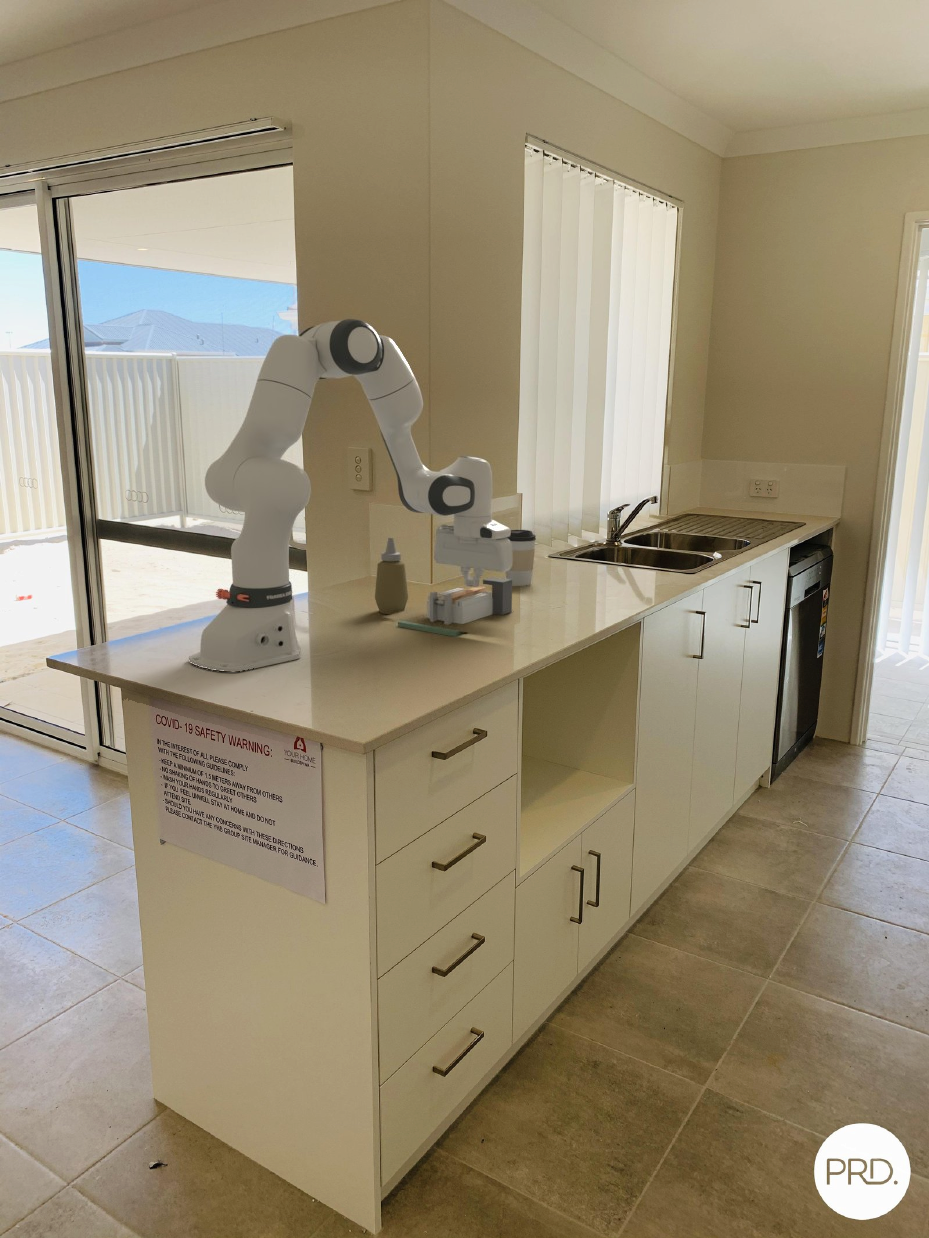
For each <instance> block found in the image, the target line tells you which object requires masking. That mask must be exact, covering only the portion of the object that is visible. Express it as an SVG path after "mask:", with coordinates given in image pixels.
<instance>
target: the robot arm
mask: <svg viewBox="0 0 929 1238" xmlns="http://www.w3.org/2000/svg"><path fill="white" fill-rule="evenodd" d="M351 376H353V377H354V378H355V379H356V380H357V381H358V382H359V383H360V385H361V388H362V390H363V392H364V394H365V396H366V399H367V401H368V403H369V405H370V407H371V409H372V411H373V414H374V416H375V419H376V421H377V423H378V428H379V432H380V434H381V437H382V440H383V443H384V446H385V449H386V450H387V453H388V456H389V458H390V461H391V464H392V466H393V468H394V472H395V475H396V478H397V487H398V490H397V491H398V495H399V499H400V501H401V504H403V506H404V507H405V508H406V509H407V510H409V512H413V513H417V514H418V513H419V514H429V515H434V516H439V517H440V516H441V517H445V516H446V517H447V516H451V515H453V525H452V524H451V525H450V524H449V525H448V524H441V525H440V526H438V528H437V529H436V531H435V544H434V550H433V551H434V552H433V553H434V554H433V558H434V559H433V560H434V562H435V563H436V564H440V565H441V564H442V565H448V566H455V567H456V566H457V567H460V573H461V575H462V576H463V579H464V586H465V587H469V588H472V587H478V586H480V579H481V577H482V576H483V574H484V570H485V571H493V572H500V573H503V572H506V571H508V570H510V568H511V567H512V561H513V556H512V544H511V542H510V540H509V539H508V538H506V537H509V536H510V535H511V530H512V529H511V528H510V527H508V526H506V525H504V524H502V523H500V522H498V521H497V520H495V519H493V511H492V508H491V507H492V506H491V505H492V504H491V503H492V500H493V495H494V493H493V489H494V486H493V473H492V467H491V464H490V462H489V461H487V460H485V459H484V458H480V457H476V456H475V457H474V456H467V455H464V456H463V455H461V456H459V457H457V459H456V460H455V461H454V462H453V463H451V464H450V465H448V466H447V467H445V468H443V469H441V470H438V471H434V470H430V469H428V468H427V467H426V466H425V465H424V464H423V462H422V461H421V457H420V455H419V453H418V450H417V447H416V445H415V442H414V439H413V436H412V431H411V430H412V426H413V424H415V422H416V421H418V419H419V418H420V415H422V412H423V408H424V401H423V400H424V399H423V396H422V392H421V388H420V386H419V383H418V381H417V379H416V377H415V375H414V373H413V371H412V369H411V367H410V365H409V363H408V361H407V360H406V358H405V357H404V355H403V353H402V352H401V350H400V348H399V347H398V346H397V344H396V342H395V341H394V340H393V339H392V338H391V337H390V336H389V337H388V336H386V335H384V334H383V335H382V334H381V335H380V334H379V333H377V331H376V329H374V328H373V326H372V325H371V324H369V323H368V322H365V321H364V320H360V319H358V318H357V319H354V318H348V319H347V318H346V319H343V320H337V321H336V320H330V321H329V320H328V321H326V322H323V323H319V324H318V325H314V326H310V327H308V328H306V329H305V330H303V331H302V332H301V333H300V334H299V335H296V334H284V335H283V334H282V335H281V336H278V337H277V338H276V339H275V340H274V341H273V342H272V344H271V345H270V348H269V350H268V351H267V354H266V355H265V358H264V360H263V363H262V366H261V368H260V371H259V373H258V376H257V379H256V382H255V387H254V390H253V394H252V396H251V398H250V399H251V400H250V403H249V405H248V408H247V411H246V415H245V417H244V420H243V423H242V424H241V426H240V428H239V430H238V432H237V433H236V435H235V436H234V438H233V440H232V441H231V443H230V445H229V446H228V447H227V449H226V450H225V451H224V453H222V455H221V456H220V457H218V459H216V460H215V461H214V462H212V463H211V464H210V466H209V467H208V469H207V471H206V473H205V477H204V486H205V490H206V493H207V495H208V496H209V498H210V499H211V500H212V501H213V502H214V503H216V504H218V505H219V506H221V507H223V508H225V509H228V510H230V511H234V512H238V513H239V512H240V513H244V520H243V525H242V529H241V532H240V534H239V535H238V537H237V538H236V539H234V541H233V542H232V544H231V547H230V555H231V556H230V557H231V573H232V583H231V584H230V588H229V589H222V588H218V589H216V591H215V597H216V598H217V599H219V600H224V601H226V602H225V603H226V605H225V606H224V607H223V609H221V611H220V612H219V613H218V614H217V615H216V616H215V617H214V618H213V620H211V621H210V623H209V624H208V625H207V626H206V627H205V628H204V629H203V630H202V634H201V638H200V649H199V650H200V651H198V652H197V653H194V654H191V655H189V656H188V661H189V660H190V662H192V663H194V664H197V665H199V666H203V667H207V668H210V669H216V670H224V671H240V672H242V671H241V670H245V671H248V669H249V670H253V668H254V669H257V668H262V667H268V666H272V665H277V664H281V663H285V662H289V661H293V660H294V661H295V660H299V659H300V657H301V655H300V651H301V647H300V645H299V642H298V638H297V635H296V630H295V629H296V628H295V623H294V617H293V612H292V603H291V601H292V600H293V587H292V582H291V581H290V566H289V565H290V562H289V561H290V560H289V559H290V557H289V556H290V555H289V554H290V553H289V551H290V541H291V540H290V539H291V536H292V535H291V534H292V531H293V528H294V524H295V521H296V520H297V517H298V516H299V515H300V513H301V512H302V511H303V510H304V509H305V508H306V507H307V505H308V503H309V501H310V499H311V494H312V485H311V480H310V478H309V475H308V474H307V472H306V471H305V470H304V469H303V468H302V467H300V466H298V465H297V464H295V463H292V462H290V461H287V460H285V459H282V458H283V456H284V454H285V453H286V452H287V450H289V449H290V447H291V446H292V447H293V445H295V444H296V443H297V442H298V441H299V440H300V438H301V437H302V434H303V432H304V428H305V424H306V421H307V418H308V414H309V410H310V407H311V403H312V401H313V397H314V392H315V388H316V385H317V383H318V382H319V380H325V379H343V378H349V377H351ZM471 569H473V573H474V575H473V577H472V575H471V573H470V571H471Z"/></svg>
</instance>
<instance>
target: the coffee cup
mask: <svg viewBox="0 0 929 1238" xmlns="http://www.w3.org/2000/svg"><path fill="white" fill-rule="evenodd" d="M510 530H511V535H510V536H509V537H506V538H508V539H509V540H510V542H511V544H512V556H513V561H512V567H511V568H510V570H508V571H505V579H511V580H512V587H527V586H530V585H529V584H532V577H533V569H534V563H535V560H534V559H535V550H536V549H535V545H536V540H537V539H536V536H537V535H535V534H534V533H533V531H531V530H528V529H510ZM526 585H527V586H526Z"/></svg>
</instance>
